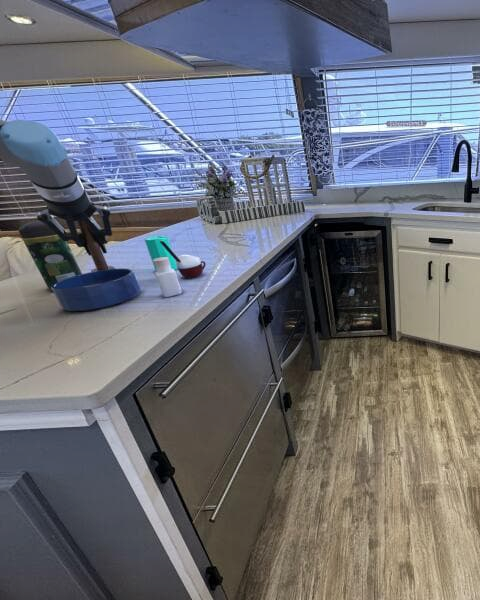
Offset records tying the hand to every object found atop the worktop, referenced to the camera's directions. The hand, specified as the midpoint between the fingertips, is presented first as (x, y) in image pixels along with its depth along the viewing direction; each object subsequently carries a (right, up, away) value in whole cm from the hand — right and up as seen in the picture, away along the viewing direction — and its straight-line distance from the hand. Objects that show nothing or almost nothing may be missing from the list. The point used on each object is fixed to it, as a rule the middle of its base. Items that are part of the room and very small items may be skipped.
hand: (97, 250), depth 90 cm
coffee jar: (-11, -10, +3) cm, 15 cm away
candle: (+10, -4, +14) cm, 18 cm away
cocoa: (+23, -7, +6) cm, 25 cm away
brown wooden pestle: (+3, -6, -1) cm, 7 cm away
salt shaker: (+26, -13, -7) cm, 30 cm away
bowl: (+10, -14, -9) cm, 20 cm away
